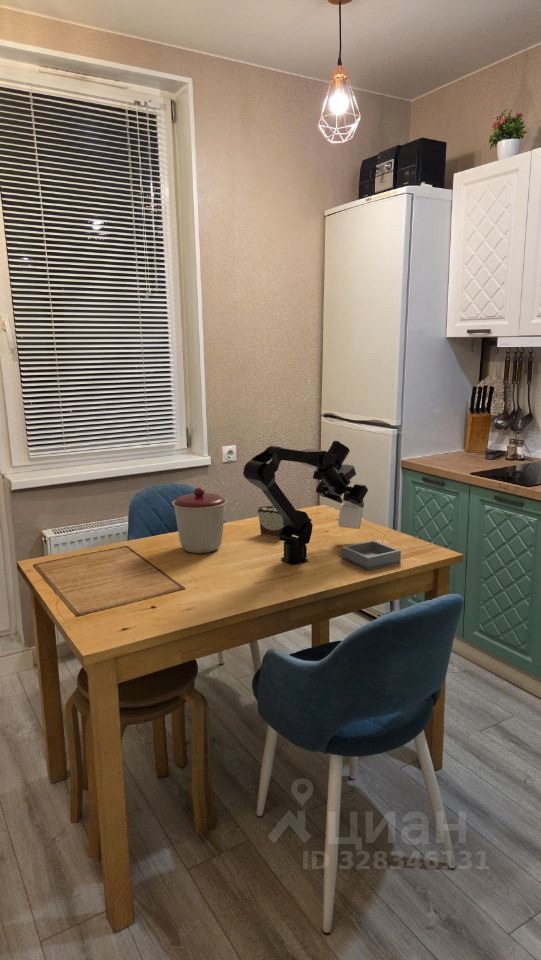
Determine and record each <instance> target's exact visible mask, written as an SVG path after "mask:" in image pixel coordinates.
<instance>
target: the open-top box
mask: <svg viewBox="0 0 541 960" xmlns="http://www.w3.org/2000/svg"><path fill="white" fill-rule="evenodd" d="M401 554H402V551H401V550H400V549H398V548H395V547H392V546H390V545H388V544H384V543H382V542H379V541H378V540H368V541H363V542H359V543H358V542H357V543H354V544H349V545H344V546H341V560H343V561H344V562H348V563H350V564H352V565H355V566H356V567H359V568H360V569H362V570H364V571H372V570H376V569H377V570H378V569H381V568H385V567H391V566H395V565H398V564H401V560H402V559H401V557H402V556H401Z"/></svg>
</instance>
